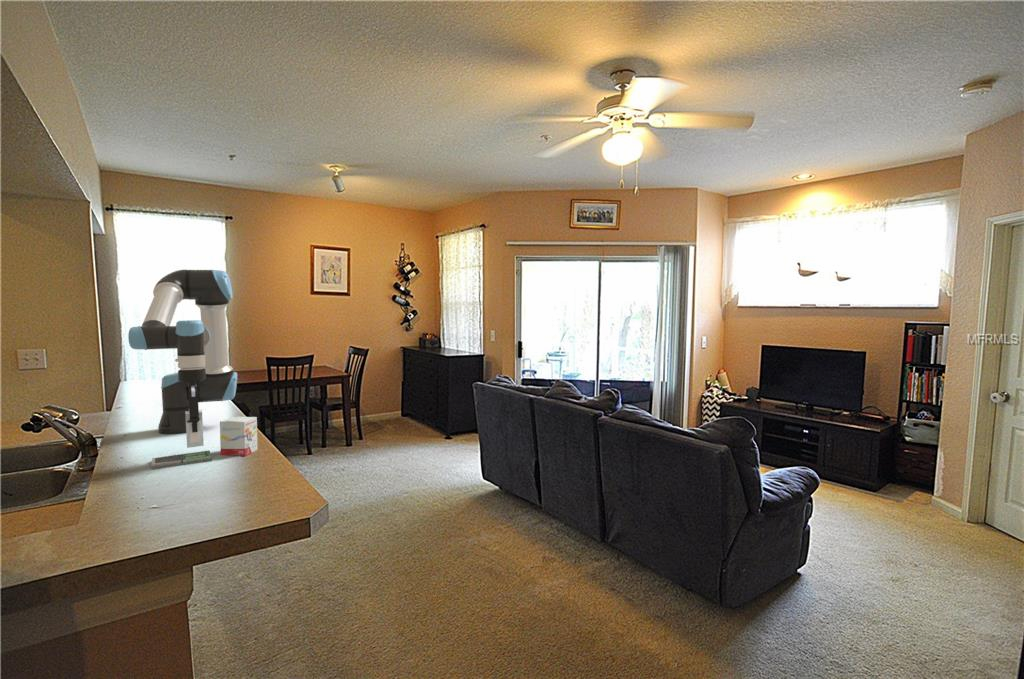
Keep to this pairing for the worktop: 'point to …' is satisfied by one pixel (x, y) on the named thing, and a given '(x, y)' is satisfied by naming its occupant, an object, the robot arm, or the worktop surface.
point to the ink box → (238, 436)
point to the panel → (180, 460)
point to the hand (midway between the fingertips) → (195, 440)
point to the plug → (194, 444)
